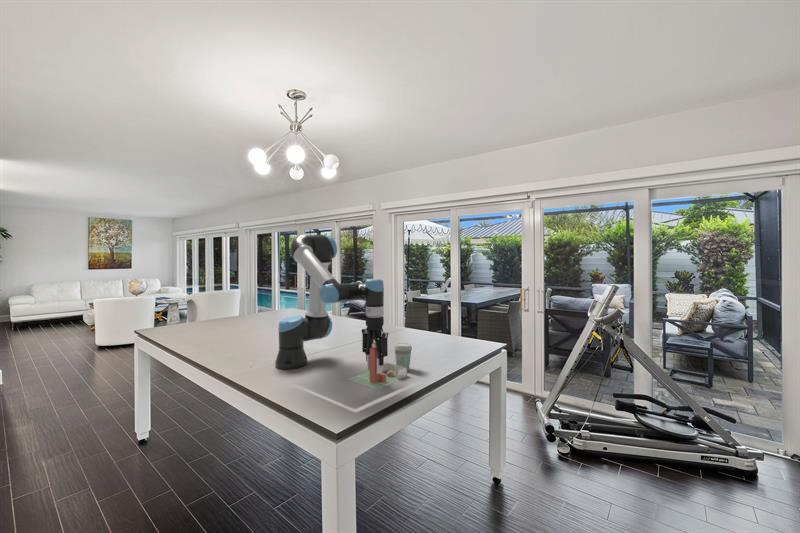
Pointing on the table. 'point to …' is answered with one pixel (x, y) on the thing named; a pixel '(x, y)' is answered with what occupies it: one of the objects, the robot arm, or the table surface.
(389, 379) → the pitch
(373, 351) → the red inhaler
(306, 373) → the table surface
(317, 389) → the table surface
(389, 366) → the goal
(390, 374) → the ball
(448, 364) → the table surface
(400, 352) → the coffee cup
